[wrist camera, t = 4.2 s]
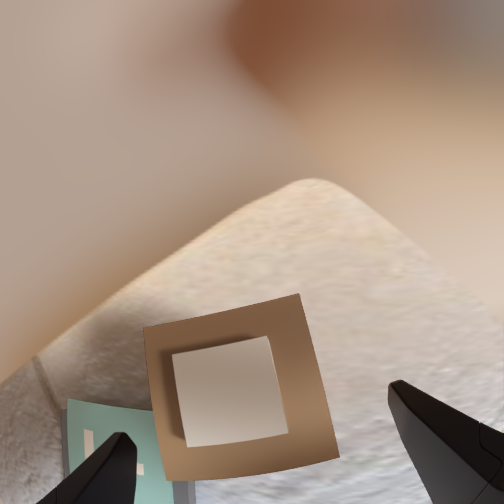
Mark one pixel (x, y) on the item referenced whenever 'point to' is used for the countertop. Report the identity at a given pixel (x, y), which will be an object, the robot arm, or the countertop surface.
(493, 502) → the robot arm
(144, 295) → the countertop surface
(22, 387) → the countertop surface
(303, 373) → the brown wooden block
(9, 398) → the countertop surface
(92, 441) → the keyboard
